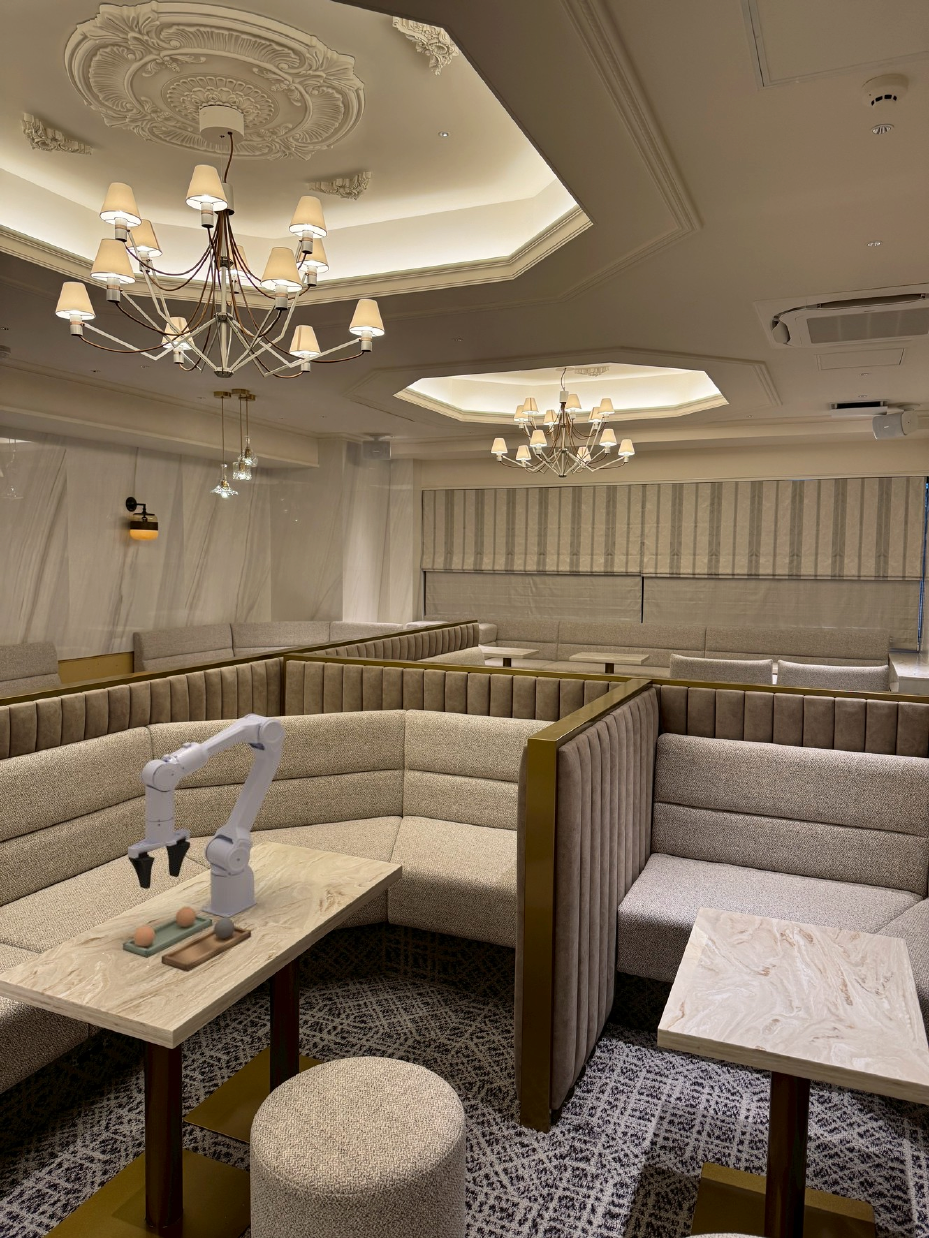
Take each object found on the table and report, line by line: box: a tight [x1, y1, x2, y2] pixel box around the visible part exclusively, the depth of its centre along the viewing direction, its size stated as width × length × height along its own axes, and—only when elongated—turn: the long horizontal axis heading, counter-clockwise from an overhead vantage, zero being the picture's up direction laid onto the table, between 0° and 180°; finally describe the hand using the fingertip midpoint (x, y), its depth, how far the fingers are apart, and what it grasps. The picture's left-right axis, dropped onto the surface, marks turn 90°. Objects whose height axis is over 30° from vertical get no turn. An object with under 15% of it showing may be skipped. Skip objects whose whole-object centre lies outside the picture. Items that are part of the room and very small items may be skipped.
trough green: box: [122, 914, 213, 958], centre depth 168 cm, size 17×7×1 cm, turn 152°
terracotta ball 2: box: [175, 906, 197, 927], centre depth 171 cm, size 4×4×4 cm
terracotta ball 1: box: [133, 925, 155, 947], centre depth 162 cm, size 4×4×4 cm
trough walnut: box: [161, 925, 252, 972], centre depth 162 cm, size 17×7×1 cm, turn 152°
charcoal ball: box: [213, 917, 235, 939], centre depth 166 cm, size 4×4×4 cm
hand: (159, 881), depth 170 cm, fingers open, 7 cm apart
